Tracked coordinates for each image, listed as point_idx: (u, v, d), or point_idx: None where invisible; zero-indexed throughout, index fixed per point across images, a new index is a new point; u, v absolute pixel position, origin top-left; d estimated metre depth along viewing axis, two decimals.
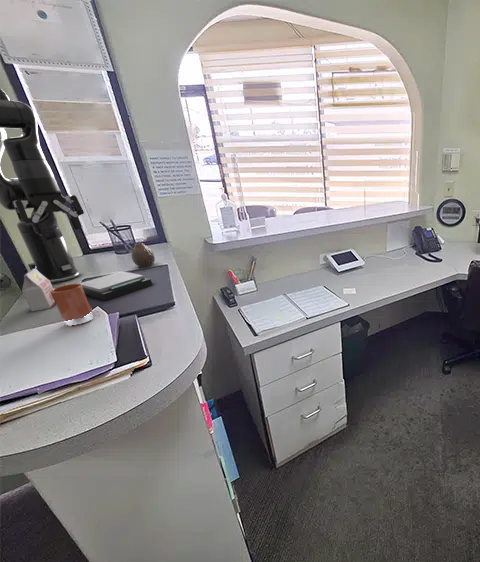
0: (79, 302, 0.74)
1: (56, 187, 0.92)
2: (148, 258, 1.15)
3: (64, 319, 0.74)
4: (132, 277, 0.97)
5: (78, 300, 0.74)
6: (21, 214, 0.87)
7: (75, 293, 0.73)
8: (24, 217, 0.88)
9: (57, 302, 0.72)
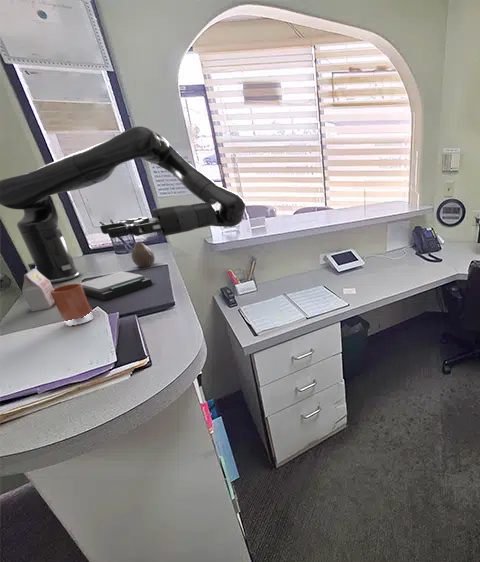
0: (79, 302, 0.74)
1: None
2: (148, 258, 1.15)
3: (64, 319, 0.74)
4: (132, 277, 0.97)
5: (78, 300, 0.74)
6: (145, 233, 0.77)
7: (75, 293, 0.73)
8: (140, 234, 0.77)
9: (57, 302, 0.72)
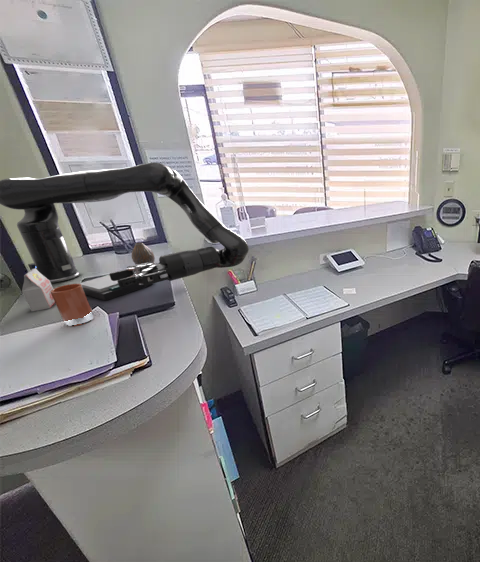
0: (79, 302, 0.74)
1: None
2: (148, 258, 1.15)
3: (64, 319, 0.74)
4: None
5: (78, 300, 0.74)
6: None
7: (75, 293, 0.73)
8: None
9: (57, 302, 0.72)
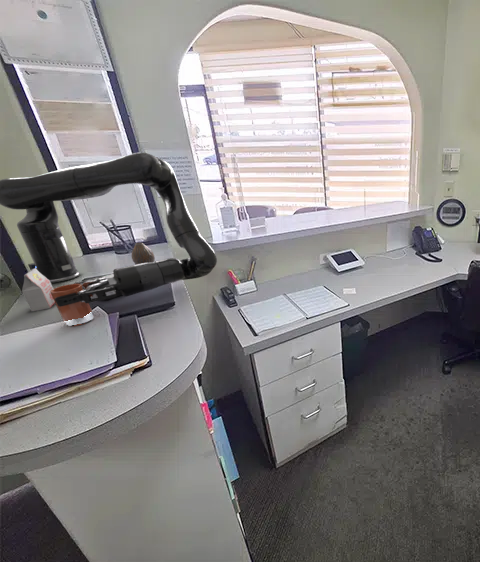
0: (79, 302, 0.74)
1: None
2: (148, 258, 1.15)
3: (64, 319, 0.74)
4: None
5: None
6: (96, 300, 0.74)
7: None
8: None
9: None
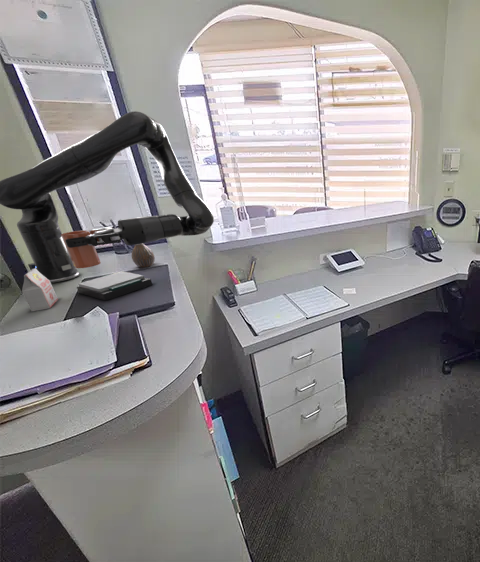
0: (87, 246, 0.81)
1: None
2: (148, 258, 1.15)
3: (73, 261, 0.81)
4: (132, 277, 0.97)
5: None
6: (102, 244, 0.81)
7: None
8: None
9: None
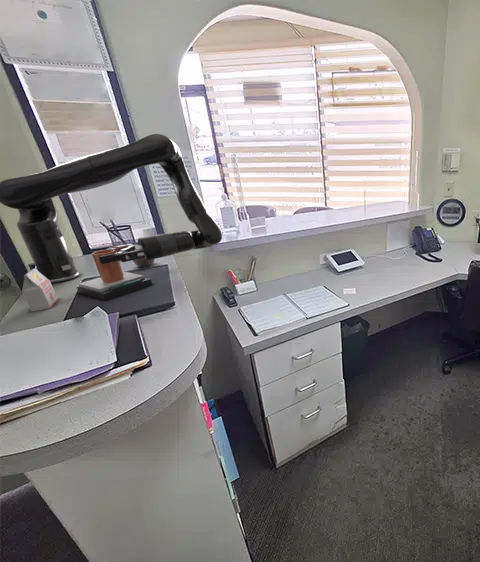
0: (114, 263, 0.93)
1: None
2: None
3: (102, 277, 0.92)
4: (132, 277, 0.97)
5: None
6: (130, 260, 0.92)
7: None
8: (127, 260, 0.92)
9: (97, 262, 0.91)
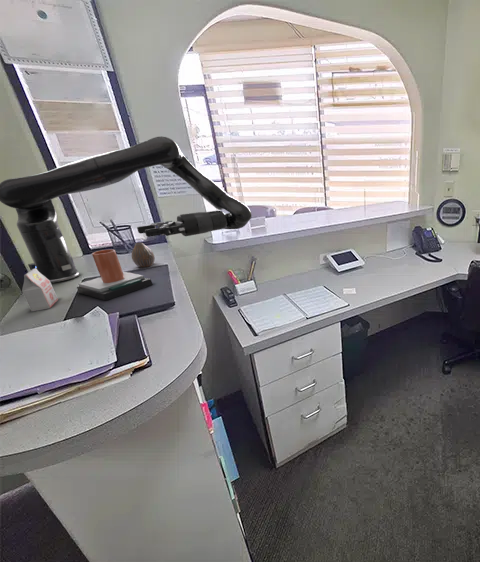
0: (114, 263, 0.93)
1: None
2: (148, 258, 1.15)
3: (102, 277, 0.92)
4: (132, 277, 0.97)
5: (113, 261, 0.93)
6: (173, 234, 0.99)
7: (111, 255, 0.92)
8: (169, 234, 0.99)
9: (97, 262, 0.91)
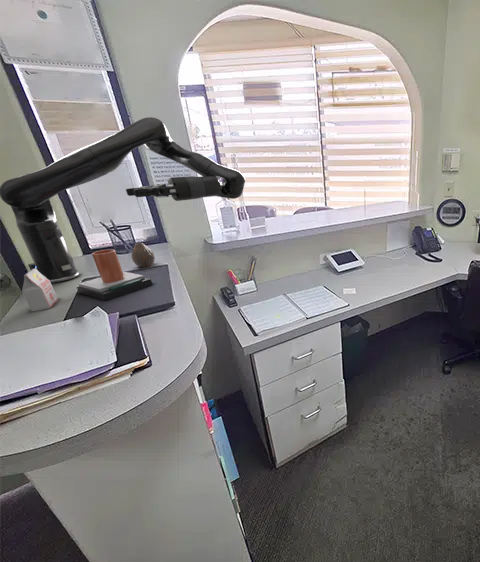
0: (114, 263, 0.93)
1: None
2: (148, 258, 1.15)
3: (102, 277, 0.92)
4: (132, 277, 0.97)
5: (113, 261, 0.93)
6: (163, 195, 0.95)
7: (111, 255, 0.92)
8: (160, 196, 0.95)
9: (97, 262, 0.91)
